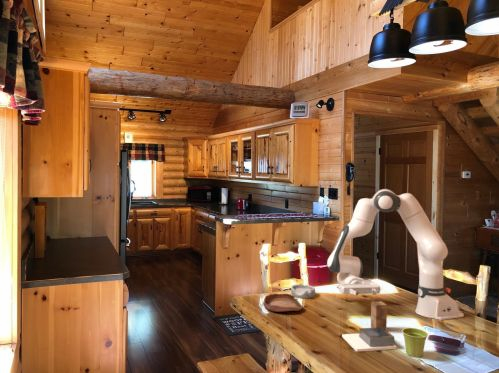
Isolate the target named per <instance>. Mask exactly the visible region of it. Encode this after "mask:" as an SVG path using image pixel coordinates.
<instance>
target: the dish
mask: <svg viewBox="0 0 499 373" xmlns="http://www.w3.org/2000/svg"><path fill="white" fill-rule="evenodd" d="M290 293H291V294H290V295H292V296H294V297H295V298H300V299H311V298H313V297H315V294H316V288H315V287H314V286H312V285H309V284H305V285H304V284H293V285H291V287H290Z"/></svg>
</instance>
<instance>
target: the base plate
mask: <svg viewBox="0 0 499 373" xmlns="http://www.w3.org/2000/svg"><path fill="white" fill-rule="evenodd" d="M341 335H342V336H341V337H342V339H344V340H345V341H346V342H347V343H348V344H349V346H350V347H351V348H352V349H353V350H354V351H355V352H357V353H358V352H372V351H373V352H374V351H386V350H388V351H389V350H397V345H396V344H394V345H391V346H376V347H370V346H369V345H368V344H366V343H365V342H364V341H363V340H362V339H361V338H360V337H359V333H345V334H341Z"/></svg>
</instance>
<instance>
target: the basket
mask: <svg viewBox="0 0 499 373" xmlns="http://www.w3.org/2000/svg"><path fill="white" fill-rule="evenodd" d="M263 307H265V308H264V309H266V310H269V311H270V312H277V313H278V312H291V311H295V312H298V311H301V310H302V309H303V308H304V304H303V305H302V304H301V303H300V302H299V301H298V300H297V298H296V297H294V296H293V295H292V294H290V293H272V294H268V295H266V296H265V297H264V299H263Z"/></svg>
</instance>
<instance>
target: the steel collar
mask: <svg viewBox="0 0 499 373" xmlns="http://www.w3.org/2000/svg"><path fill="white" fill-rule="evenodd" d="M358 334H359V337H360V338H361V339H362V340H363V341H364V342H365V343H366V344H368V345H369V346H370V347H376V346H391V345H395V336H394V335H393V334H392V333H391V332H389V331H387V329H386V330H385V329H384V328H382V327H377V328H371V327H364V328H363V327H362V328H359V329H358Z"/></svg>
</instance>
